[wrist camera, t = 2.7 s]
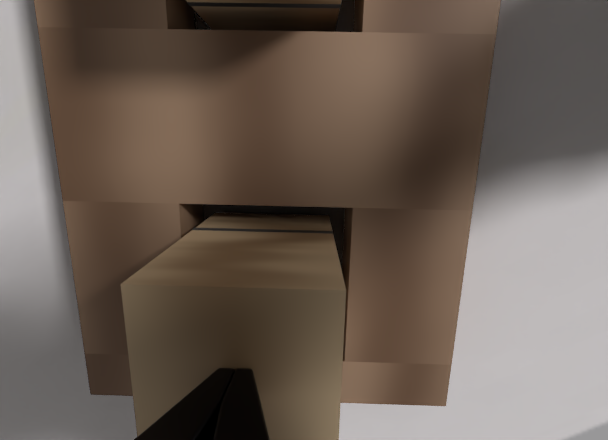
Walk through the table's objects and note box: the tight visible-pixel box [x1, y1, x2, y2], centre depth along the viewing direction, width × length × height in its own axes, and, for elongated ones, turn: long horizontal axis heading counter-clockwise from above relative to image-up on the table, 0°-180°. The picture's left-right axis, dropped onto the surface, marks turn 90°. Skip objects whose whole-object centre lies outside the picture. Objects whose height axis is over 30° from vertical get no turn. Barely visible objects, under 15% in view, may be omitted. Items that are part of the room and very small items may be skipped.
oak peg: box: [121, 212, 346, 440], centre depth 12 cm, size 5×5×8 cm
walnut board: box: [34, 0, 501, 406], centre depth 12 cm, size 16×24×8 cm, turn 179°
